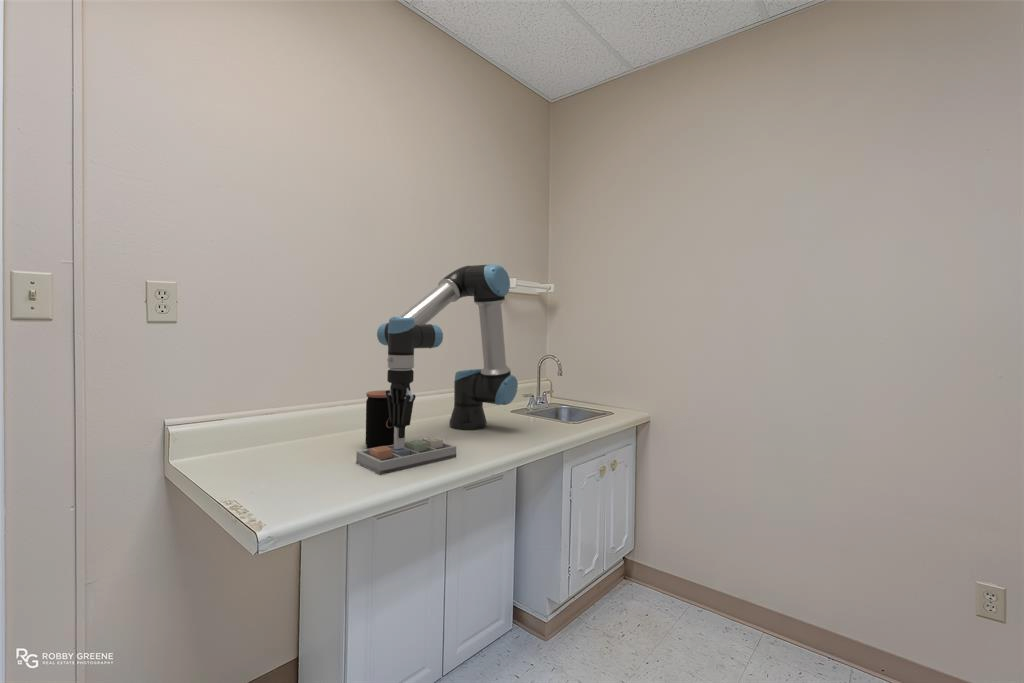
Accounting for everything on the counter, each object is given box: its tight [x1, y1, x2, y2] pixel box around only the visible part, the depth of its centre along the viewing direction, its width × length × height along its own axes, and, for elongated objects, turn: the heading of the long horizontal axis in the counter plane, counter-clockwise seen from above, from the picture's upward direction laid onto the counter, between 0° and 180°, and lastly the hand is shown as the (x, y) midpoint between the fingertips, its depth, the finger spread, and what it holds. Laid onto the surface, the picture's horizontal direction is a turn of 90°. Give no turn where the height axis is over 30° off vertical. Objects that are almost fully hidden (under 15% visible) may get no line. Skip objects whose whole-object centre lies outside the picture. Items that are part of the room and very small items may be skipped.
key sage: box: [405, 439, 427, 452], centre depth 141 cm, size 5×5×3 cm
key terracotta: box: [369, 446, 392, 460], centre depth 132 cm, size 5×5×3 cm
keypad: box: [355, 438, 457, 476], centre depth 139 cm, size 26×14×3 cm, turn 135°
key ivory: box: [422, 436, 444, 449], centre depth 145 cm, size 5×5×2 cm
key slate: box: [391, 447, 410, 457], centre depth 136 cm, size 5×5×3 cm
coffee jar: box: [365, 389, 394, 449], centre depth 153 cm, size 11×11×18 cm
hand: (399, 448), depth 136 cm, fingers closed
